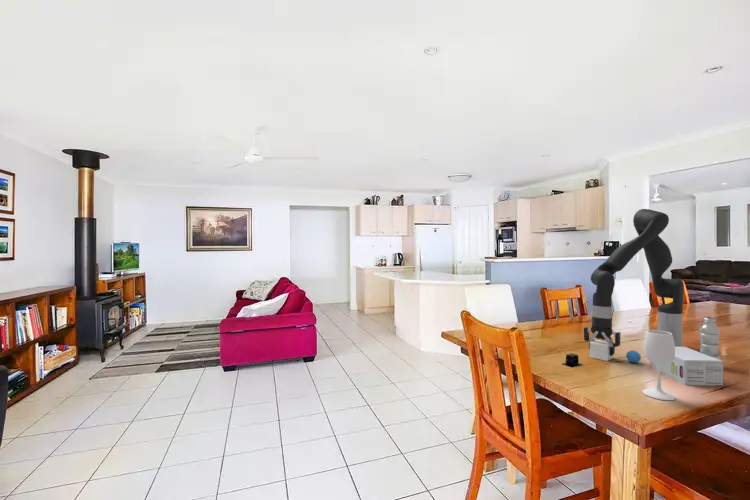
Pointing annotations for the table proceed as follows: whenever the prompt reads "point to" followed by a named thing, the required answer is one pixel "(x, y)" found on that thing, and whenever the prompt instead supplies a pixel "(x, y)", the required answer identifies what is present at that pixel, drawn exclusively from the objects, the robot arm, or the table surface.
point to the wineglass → (659, 358)
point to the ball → (633, 356)
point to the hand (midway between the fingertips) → (601, 353)
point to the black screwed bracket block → (572, 360)
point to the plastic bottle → (709, 337)
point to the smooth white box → (600, 350)
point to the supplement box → (693, 368)
